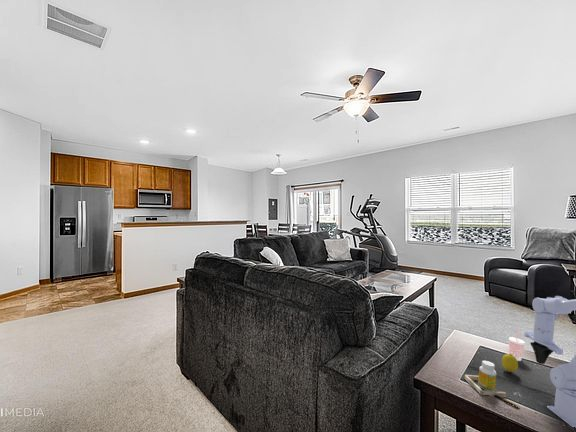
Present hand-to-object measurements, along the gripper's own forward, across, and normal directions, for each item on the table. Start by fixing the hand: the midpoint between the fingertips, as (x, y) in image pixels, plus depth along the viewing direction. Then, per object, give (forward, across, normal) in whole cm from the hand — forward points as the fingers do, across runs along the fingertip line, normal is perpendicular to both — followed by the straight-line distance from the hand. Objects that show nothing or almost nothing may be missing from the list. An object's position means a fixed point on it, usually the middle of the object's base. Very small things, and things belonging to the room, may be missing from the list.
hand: (540, 362), depth 109 cm
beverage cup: (+11, +24, -10) cm, 28 cm away
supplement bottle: (+11, -2, +22) cm, 24 cm away
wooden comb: (+11, -8, +22) cm, 26 cm away
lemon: (+11, +11, +3) cm, 15 cm away
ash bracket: (+10, -2, +22) cm, 24 cm away
